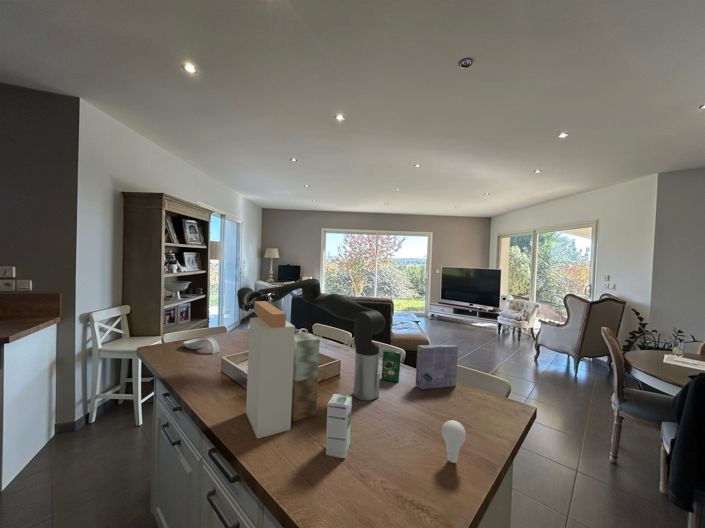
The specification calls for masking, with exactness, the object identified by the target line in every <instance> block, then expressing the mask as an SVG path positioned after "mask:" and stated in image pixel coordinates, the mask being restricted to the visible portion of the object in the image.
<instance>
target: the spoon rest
mask: <svg viewBox="0 0 705 528" xmlns="http://www.w3.org/2000/svg"><path fill="white" fill-rule="evenodd" d="M207 342H208V343H209V344H210V346H211V354H212V355H215V354H218V353H221V348H220V345H219V343H218V342H217V341H216V340H215V339H214V338H212V337H207V338H193V339H189V340H186V341H185V340H184V342H182V344H183V346H184V347H185V348H187V349H189V348H190V350H198V349H199V350H200V349H201V347H202V348H203V347H204V346H205V345H206V344H207ZM217 352H218V353H217ZM214 353H215V354H214Z"/></svg>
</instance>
